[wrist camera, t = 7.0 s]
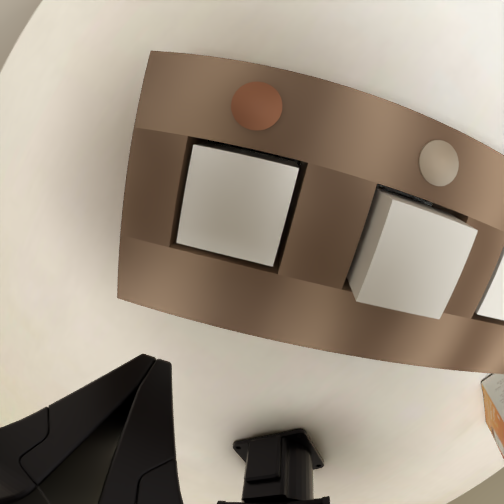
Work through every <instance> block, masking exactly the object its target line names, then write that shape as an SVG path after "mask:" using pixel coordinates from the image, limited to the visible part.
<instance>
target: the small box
mask: <svg viewBox="0 0 504 504" xmlns="http://www.w3.org/2000/svg"><path fill="white" fill-rule="evenodd" d="M481 385H482V390H483V396H484V405H485V417H486V423H487V425H488V427H489V429H490V431H491V433H492V435H493V437H494V439H495V441H496V443H497V446H498V448H499V450H500V452H501V454H502V456H503V458H504V374H493V375H491V376H490V377H488V378H487V379H485V380H484V381H483V382H482V383H481Z"/></svg>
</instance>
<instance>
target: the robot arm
mask: <svg viewBox="0 0 504 504" xmlns="http://www.w3.org/2000/svg"><path fill="white" fill-rule="evenodd" d="M233 449H234V450H235V451H236V452H237V453H238V454H239V456H240V457H241V458H242V459H243V460H244V461H245V462H246V468H245V475H244V486H243V493H242V502H226V501H218V502H217V504H330V497H329V496H328V497H322V498H319V499H313V469H318V468H322V467H323V466H324V461H323V460H322V458H321V456H320V455H319V453H318V451H317V450H316V448H315V446H314V445H313V443H312V441H311V439H310V438H309V436H308V434H307V433H306V431H305V430H303V429H297V430H292V431H288V432H284V433H279V434H274V435H269V436H264V437H259V438H253V439H248V440H242V441H236V442H234V443H233ZM0 504H183V500H182V496H181V492H180V486H179V479H178V471H177V461H176V448H175V434H174V417H173V395H172V365H171V363H170V362H168V361H164V360H161V359H157V360H156V358H155V357H152V356H149V355H146V354H141V355H139V356H137V357H135V358H134V359H132V360H130V361H128V362H127V363H125V364H123V365H121V366H120V367H118V368H116V369H114V370H113V371H111V372H109V373H107V374H105V375H104V376H102V377H100V378H98V379H97V380H95V381H93V382H91V383H89V384H88V385H86V386H84V387H82V388H80V389H78V390H77V391H75V392H73V393H71V394H69V395H67V396H66V397H64V398H62V399H60V400H58V401H56V402H55V403H53V404H51V405H49V408H48V407H45V408H43V409H41V410H39V411H38V412H36V413H34V414H31V415H29V416H27V417H25V418H23V419H21V420H19V421H16V422H14V423H11V424H9V425H6V426H4V427H1V428H0Z"/></svg>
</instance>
